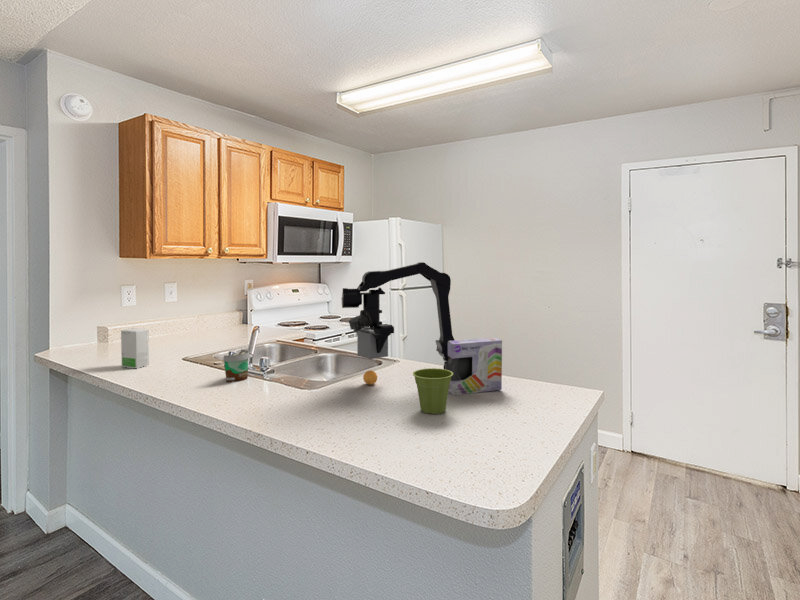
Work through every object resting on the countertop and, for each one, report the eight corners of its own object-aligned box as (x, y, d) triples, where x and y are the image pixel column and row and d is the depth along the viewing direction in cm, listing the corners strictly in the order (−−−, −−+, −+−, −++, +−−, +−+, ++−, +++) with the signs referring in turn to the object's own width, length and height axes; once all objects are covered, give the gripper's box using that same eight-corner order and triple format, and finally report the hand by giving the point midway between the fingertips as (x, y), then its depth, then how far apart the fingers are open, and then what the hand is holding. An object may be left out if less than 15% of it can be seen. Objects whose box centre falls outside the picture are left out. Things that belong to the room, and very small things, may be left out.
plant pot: (428, 401, 139) (428, 366, 138) (460, 409, 132) (461, 372, 131) (404, 411, 130) (404, 373, 129) (437, 420, 123) (438, 380, 122)
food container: (239, 384, 159) (238, 356, 158) (223, 383, 160) (223, 355, 159) (257, 375, 171) (256, 349, 170) (242, 374, 172) (241, 349, 172)
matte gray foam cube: (387, 356, 158) (387, 331, 157) (370, 359, 153) (370, 333, 152) (374, 352, 164) (374, 329, 163) (357, 355, 159) (357, 331, 158)
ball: (379, 385, 158) (380, 371, 158) (368, 386, 155) (369, 371, 155) (370, 382, 162) (372, 369, 162) (359, 383, 159) (361, 369, 159)
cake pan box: (449, 396, 145) (450, 342, 144) (444, 391, 150) (444, 339, 148) (502, 391, 150) (503, 339, 149) (495, 387, 155) (496, 337, 154)
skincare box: (121, 367, 184) (119, 330, 182) (135, 364, 190) (133, 327, 189) (137, 369, 181) (135, 331, 180) (150, 365, 188) (148, 328, 186)
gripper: (337, 306, 158) (338, 350, 160) (368, 311, 144) (368, 358, 145) (363, 304, 165) (363, 346, 167) (395, 308, 151) (395, 354, 153)
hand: (371, 351), depth 158 cm, fingers closed on matte gray foam cube, 8 cm apart
